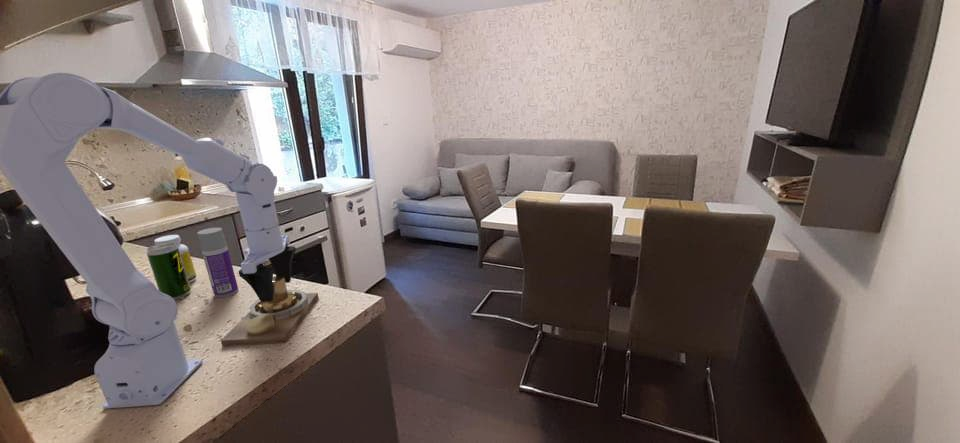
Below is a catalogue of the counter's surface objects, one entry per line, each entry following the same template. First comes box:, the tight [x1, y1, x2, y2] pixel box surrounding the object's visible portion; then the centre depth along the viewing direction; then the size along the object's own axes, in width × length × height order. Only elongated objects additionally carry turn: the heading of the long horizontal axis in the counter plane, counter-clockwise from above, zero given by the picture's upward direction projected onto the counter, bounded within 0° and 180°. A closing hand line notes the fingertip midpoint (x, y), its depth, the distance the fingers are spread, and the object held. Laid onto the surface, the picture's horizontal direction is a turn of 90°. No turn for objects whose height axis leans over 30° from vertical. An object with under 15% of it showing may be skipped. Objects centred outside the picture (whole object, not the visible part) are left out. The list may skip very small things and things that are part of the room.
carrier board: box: [220, 289, 319, 347], centre depth 73 cm, size 16×11×3 cm
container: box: [196, 227, 239, 299], centre depth 82 cm, size 5×5×15 cm
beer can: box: [146, 242, 192, 301], centre depth 82 cm, size 5×5×12 cm
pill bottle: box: [153, 234, 197, 284], centre depth 89 cm, size 6×6×12 cm
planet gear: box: [258, 275, 297, 314], centre depth 74 cm, size 7×7×6 cm
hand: (276, 291), depth 74 cm, fingers open, 7 cm apart
